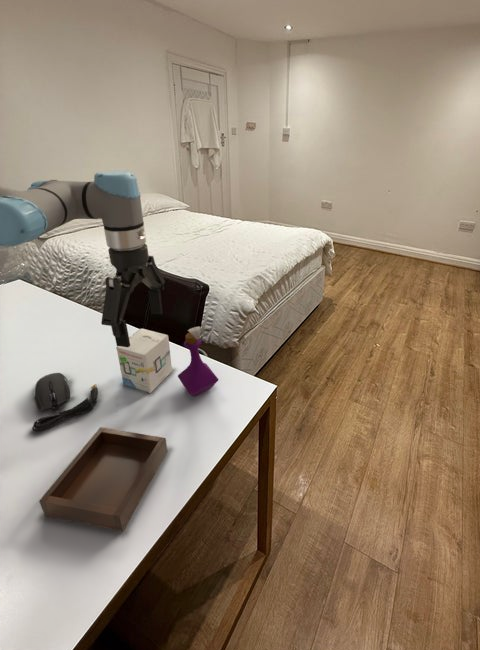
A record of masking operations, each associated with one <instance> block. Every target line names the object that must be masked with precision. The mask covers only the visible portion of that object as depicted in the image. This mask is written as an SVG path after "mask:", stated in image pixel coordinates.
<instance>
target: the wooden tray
mask: <svg viewBox="0 0 480 650" xmlns="http://www.w3.org/2000/svg"><path fill="white" fill-rule="evenodd" d="M167 453H168V445H167V439H166V437H164V436H163V437H162V436H156V435H152V434H151V435H150V434H143V433H137V432H131V431H125V430H121V429H113V428H107V427H101V426H100V427H99V428H98V429H97V430H96V432H95V433H94V434H93V435H92V436H91V438H90V439H89V440H88V441H87V442H86V444H85V445H84V446H83V447H82V449H81V450H80V451H79V452H78V453H77V454H76V455H75V457H74V458H73V459H72V461H71V462H70V463H69V464H68V466H67V467H66V468H65V469H64V470H63V472H61V474H59V476H58V477H57V479H56V480H55V481H53V484H51V486H50V487H49V488H48V489H47V490H46V492H45V493H44V494H43V496H42V497H40V498H39V500H38V501H39V505H40V507H41V510H42V513H43V515H44V517H49V518H55V519H59V520H65V521H70V522H74V523H79V524H84V525H89V526H94V527H99V528H105V529H108V530H114V531H120V532H124V530H125V529H126V527H127V525H128V524H129V522H130V520H131V518H132V516H133V514H134V513H135V511H136V509H137V507H138V505H139V504H140V502H141V501H142V498H143V496H144V495H145V493H146V491H147V490H148V487H149V486H150V484H151V482H152V481H153V479H154V477H155V474H157V471H158V470H159V468H160V466H161V465H162V462H163V460H164V459H165V457H166V455H167Z"/></svg>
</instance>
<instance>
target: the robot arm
mask: <svg viewBox="0 0 480 650" xmlns="http://www.w3.org/2000/svg"><path fill="white" fill-rule="evenodd" d="M93 176H94V177H93V181H75V180H74V181H73V180H58V179H50V180H37V181H34V182H32V183H31V184H30V186H29V187H28V188H27V189H25V190H17V189H13V188H9V187H6V186H2V185H0V247H5V248H7V247H8V248H11V247H17V246H20V245H23V244H25V243H29V242H32V241H34V240H37V239H38V238H40V237H42V236H44V235H45V234H47V233H49V232H51V231H53V230H55V229H57V228H59V227H61V226H64V225H66V224H68V223H70V222H73V221H74V220H101V221H102V224H103V230H104V237H105V241H106V246H107V247H108V250H107V251H108V256H109V262H110V265H111V266H113V267H114V268H115V269H116V270H115V275H114V276H106V277H105V281H104V282H105V293H104V294H105V295H104V300H103V301H104V302H103V307H102V308H103V309H102V315H101V322H100V323H101V325H102V326H108V327H109V326H110V327H111V332H112V335H113V337H114V338H115V344H116V347H117V346H121V347H129V346H130V341H129V337H130V336H129V335H130V334H129V331H128V325H127V320H126V319H124V316H125V313H126V310H127V306H128V303H129V300H130V296H131V294H132V293H133V292H134V290H135V287H137V286H138V284H141V283H143V285H145V286H147V288H149V290H147V295H148V299H149V305H150V306H149V307H150V312H151V314H153V315H162V314H164V312H163V311H164V310H163V304H162V295H161V291H164V290H165V285H164V284H165V283H166V281H165V278H164V276H163V275H162V273H161V271H160V270H159V268H158V265H157V264H156V261H155V257H154V256H153V255H149V249H148V245H147V244H146V242H147V236H146V231H145V223H144V215H143V208H142V200H141V192H140V189H139V183H138V179H137V177H136V174H134V173H132V172H131V171H127V170H105V171H99V172H96V173H94V175H93Z"/></svg>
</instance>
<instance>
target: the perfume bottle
mask: <svg viewBox="0 0 480 650" xmlns="http://www.w3.org/2000/svg"><path fill="white" fill-rule="evenodd" d="M201 331H202V328H201V326H194V327H191V328H189V329H188V330H187V332H188V333H186V335H185V338H184V339H185V340H184V341H183V347H184V348H186V349H188V351H189V353H190V363H189V365H187V367H186V368H185V369H184V370H183V371H181V372H180V373H179V374H177V378H178V379H179V381H180V382H181V384H182V386H183V387H184V389H185V390H186V392H187V393H188V395H190V396H192V397H197V396H200V395H201V394H204V393H205V392H207V391H209V390H211V389H212V388H213V386H215V385H216V384H217V383H218V382H219V378H218V377H217V375H216V374H215V373H214V371H213V370H212V369H211V368H210V366H209V365H208V364H207V363H206V362H204V361H203V359H202V358H201V356H200V352H199V347H200V346H201V344H202V339H201V338H200V337H201V333H202V332H201Z"/></svg>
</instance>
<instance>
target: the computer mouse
mask: <svg viewBox="0 0 480 650" xmlns="http://www.w3.org/2000/svg"><path fill="white" fill-rule="evenodd" d="M98 389H99V388H98V387H97V384H96V383H95V384H93V385H92V386H91V387H90V392H89V394H90V399H89V398H88V397H86V398H85V399H83V400H82V401H81V402H79V403H78V404H76V405H75V406H74V407H71V408H68V409H66V410H62V411H58V406H60V405H62V404H64V403H65V402H67V401H68V400H70V399H71V390H70V385H69V381H68V378H67V377H66V376H65V375H64V374H63V373H60V372H53V373H49V374H45V375H44V376H42V377H41V378H39V379H38V380H37V382H36V384H35V388H34V401H35V405H36V408H37V410H38V411H39V412H40V411H44V410H48V409H53V411H54V412H55V413H56V414H53V415H48V416H43V417H40V418H38V419H36V420H35V421H34V422H33V424H32V425H33V426H32V427H31V428H32V431H33V432H41V431H45V430H47V429H49V428H51V427H53V426H54V425H56V424H57V423H59V422H60V421H63V420H68V419H69V417H75V416H79V415H83V414H86V413H88V412H90V411H91V410H93V408H94V407H95V405H96V404H97V400H98V396H99V390H98Z"/></svg>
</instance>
